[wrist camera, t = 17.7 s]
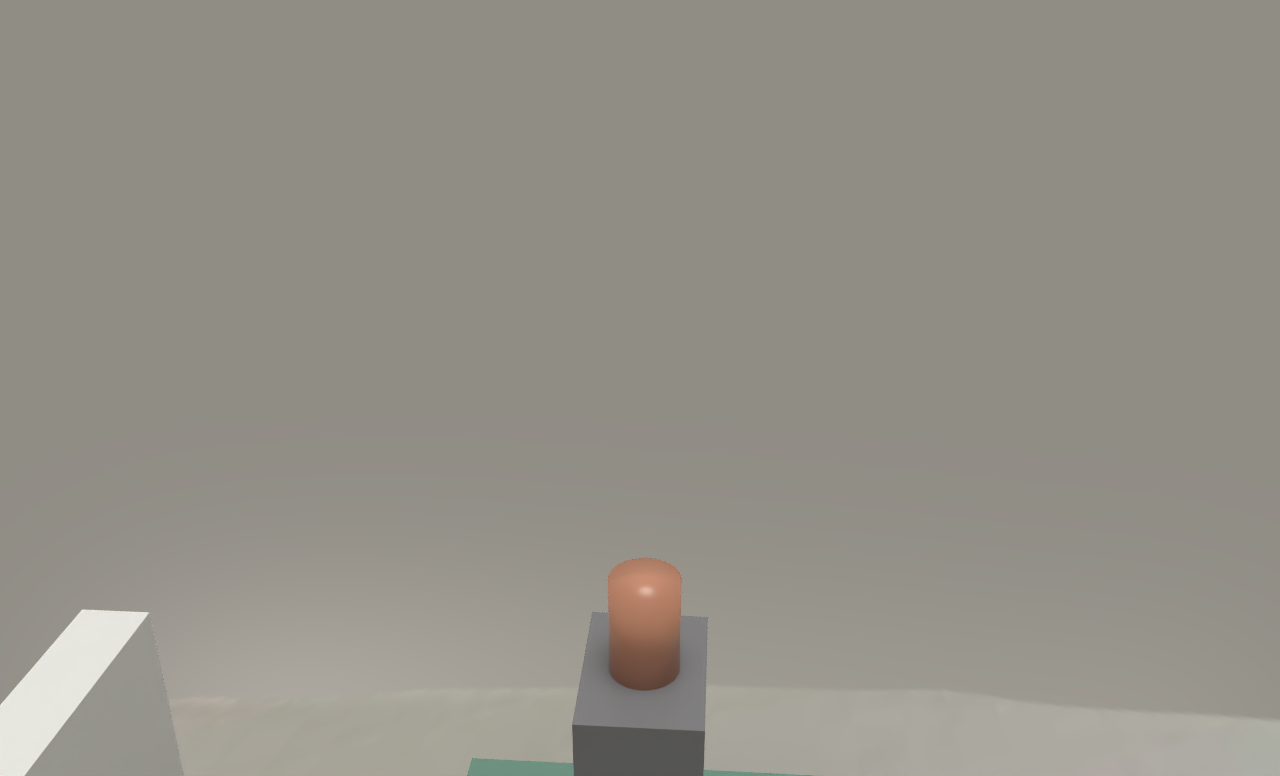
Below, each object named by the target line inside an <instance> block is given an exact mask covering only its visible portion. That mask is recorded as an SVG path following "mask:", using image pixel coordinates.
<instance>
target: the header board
mask: <svg viewBox="0 0 1280 776" xmlns="http://www.w3.org/2000/svg"><path fill="white" fill-rule="evenodd" d="M467 776H574V766H573V763H554V762H534V761H514V760H494V759H474V758H472V761H471V764H470V768H469V771H468V775H467ZM703 776H811V775H791V774H772V773H752V772H732V771H712V770H704V772H703Z"/></svg>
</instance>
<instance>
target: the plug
mask: <svg viewBox="0 0 1280 776" xmlns="http://www.w3.org/2000/svg"><path fill="white" fill-rule="evenodd" d="M681 585H682V578H681V575H680V572H679V571H678V570H677V569H676V568H675V567H674V566H673V565H671V564H669V563H667V562H664V561H661V560H657V559H650V558H639V559H632V560H628V561H625V562H623V563H620V564H619V565H617V566H616V567H614V568H613V569H612V571H611V572H610V574H609V576H608V604H609V606H608V607H609V613H598V612H593V613H592V618H591V622H590V629H589V634H588V639H587V645H586V651H585V656H584V662H583V667H582V673H581V679H580V684H579V690H578V696H577V701H576V707H575V712H574V718H573V724H572V731H573V766H574V776H703V772H704V741H705V704H706V663H707V622H708V617H692V616H681Z"/></svg>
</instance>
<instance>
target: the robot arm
mask: <svg viewBox="0 0 1280 776" xmlns="http://www.w3.org/2000/svg"><path fill="white" fill-rule="evenodd" d="M0 776H184V772H183V768H182V763H181V758H180V754H179V749H178V744H177V740H176V735H175V730H174V726H173V721H172V716H171V711H170V707H169V702H168V697H167V693H166V688H165V683H164V679H163V674H162V669H161V665H160V661H159V655H158V651H157V646H156V641H155V637H154V632H153V627H152V623H151V618H150V614H149V613H147V612H123V611H101V610H100V611H99V610H82V611H81V612H80V613H79V614H78V615H77V617H76V618H75V619H74V620H73V621H72V622H71V624H70V625H69V626H68V627H67V628H66V629H65V630H64V632H63V633H62V634H61V635H60V636H59V638H58V639H57V640H56V641H55V642H54V643H53V644H52V646H51V647H50V648H49V649H48V650H47V651H46V653H45V654H44V655H43V656H42V657H41V658H40V660H39V661H38V662H37V663H36V664H35V666H34V667H33V668H32V669H31V670H30V671H29V672H28V674H27V675H26V676H25V677H24V678H23V680H22V681H21V682H20V683H19V684H18V685H17V686H16V688H15V689H14V690H13V691H12V692H11V693H10V695H9V696H8V697H7V698H6V699H5V701H4V702H3V703H2V704H1V705H0Z"/></svg>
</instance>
